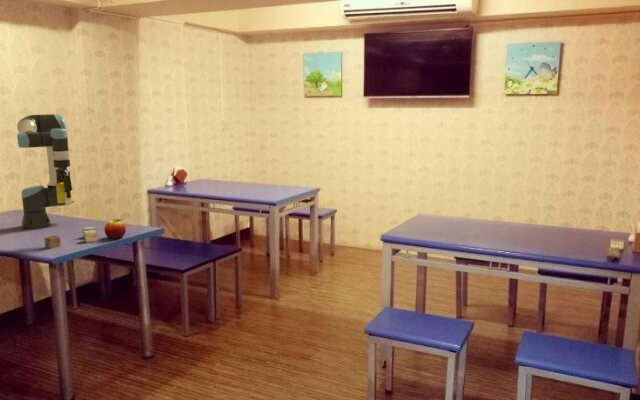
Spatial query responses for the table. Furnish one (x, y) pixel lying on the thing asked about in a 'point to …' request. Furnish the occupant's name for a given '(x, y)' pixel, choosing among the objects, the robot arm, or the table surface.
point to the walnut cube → (52, 241)
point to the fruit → (115, 229)
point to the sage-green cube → (89, 230)
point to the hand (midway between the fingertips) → (65, 202)
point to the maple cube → (90, 236)
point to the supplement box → (62, 193)
